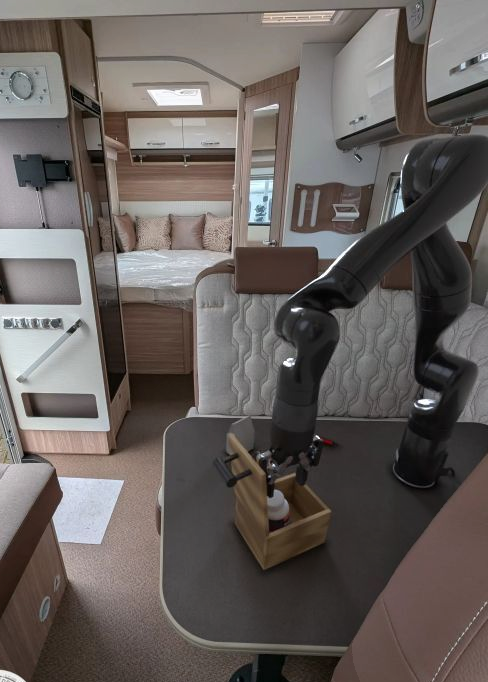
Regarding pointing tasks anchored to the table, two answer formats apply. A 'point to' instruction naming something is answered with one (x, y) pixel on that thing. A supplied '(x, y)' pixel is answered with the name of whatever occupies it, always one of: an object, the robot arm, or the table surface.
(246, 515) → the chest
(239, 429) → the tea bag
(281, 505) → the pill bottle
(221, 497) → the table surface
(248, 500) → the lid
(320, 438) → the pen
